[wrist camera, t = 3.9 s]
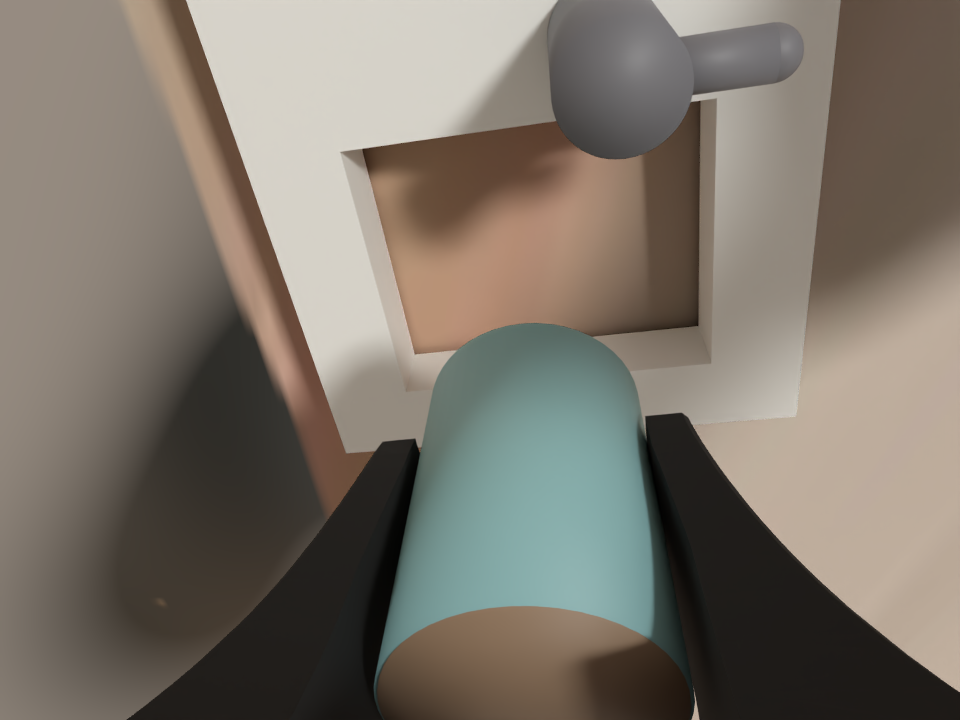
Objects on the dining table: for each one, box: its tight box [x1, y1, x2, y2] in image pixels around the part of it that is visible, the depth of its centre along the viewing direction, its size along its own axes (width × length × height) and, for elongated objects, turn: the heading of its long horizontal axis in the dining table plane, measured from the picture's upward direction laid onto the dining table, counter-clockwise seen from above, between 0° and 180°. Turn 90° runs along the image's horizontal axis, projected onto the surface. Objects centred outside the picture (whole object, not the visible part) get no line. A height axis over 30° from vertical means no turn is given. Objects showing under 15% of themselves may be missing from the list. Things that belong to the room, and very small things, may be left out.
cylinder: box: [374, 323, 695, 720], centre depth 12 cm, size 4×4×6 cm
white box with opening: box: [186, 0, 841, 453], centre depth 16 cm, size 14×20×6 cm
